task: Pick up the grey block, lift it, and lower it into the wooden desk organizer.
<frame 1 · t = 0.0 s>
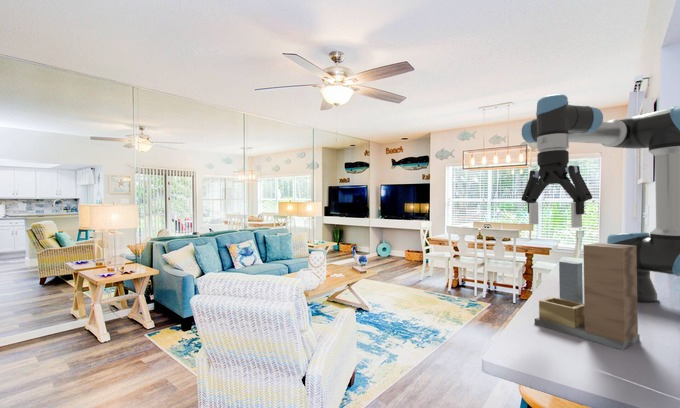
hand: (553, 225, 94), 28 cm above the counter, tool pointing down, fingers open, 13 cm apart
grey block: (571, 314, 101), on the counter
wooden desk organizer: (562, 325, 92), on the counter
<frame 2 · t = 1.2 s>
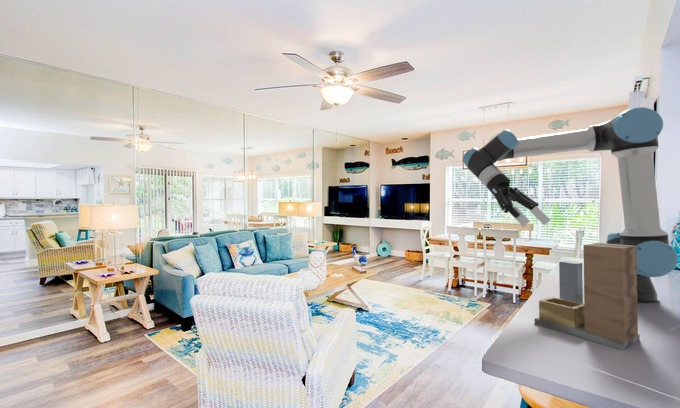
hand: (537, 223, 109), 28 cm above the counter, tool tilted 45°, fingers open, 13 cm apart
nothing on the counter moved.
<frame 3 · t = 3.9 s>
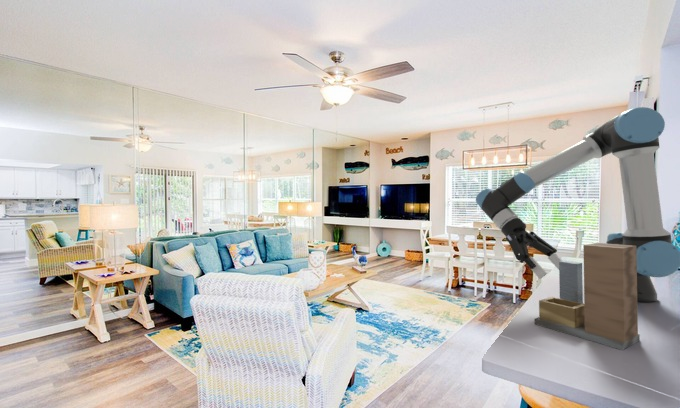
hand: (555, 273, 104), 12 cm above the counter, tool tilted 45°, fingers open, 13 cm apart
nothing on the counter moved.
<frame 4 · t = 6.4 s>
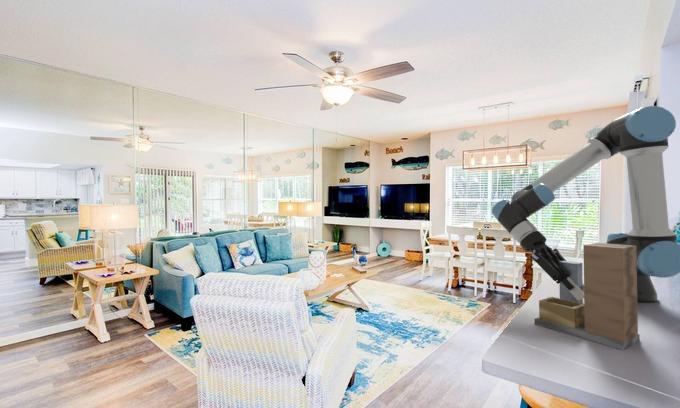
hand: (585, 297, 98), 6 cm above the counter, tool tilted 45°, fingers closed on grey block, 3 cm apart
grey block: (571, 314, 101), on the counter, touching gripper
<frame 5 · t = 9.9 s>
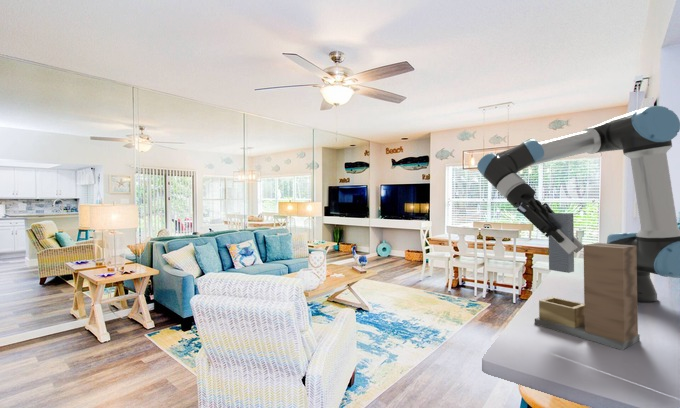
hand: (576, 250, 89), 22 cm above the counter, tool tilted 45°, fingers closed on grey block, 3 cm apart
grey block: (561, 270, 92), point 15 cm above the counter, touching gripper
when the fingers open (9 cm above the counter, at t = 13.5 s): grey block drops 1 cm, resting on wooden desk organizer.
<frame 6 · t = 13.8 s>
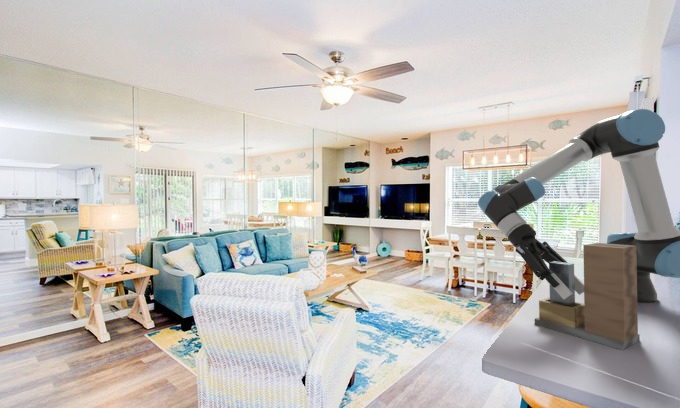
hand: (576, 294, 89), 10 cm above the counter, tool tilted 45°, fingers open, 8 cm apart
grey block: (562, 320, 92), point 2 cm above the counter, touching wooden desk organizer
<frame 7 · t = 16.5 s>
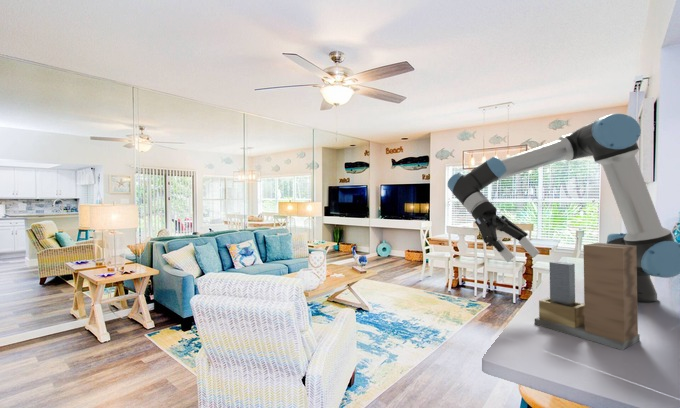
hand: (524, 257, 101), 18 cm above the counter, tool tilted 45°, fingers open, 13 cm apart
nothing on the counter moved.
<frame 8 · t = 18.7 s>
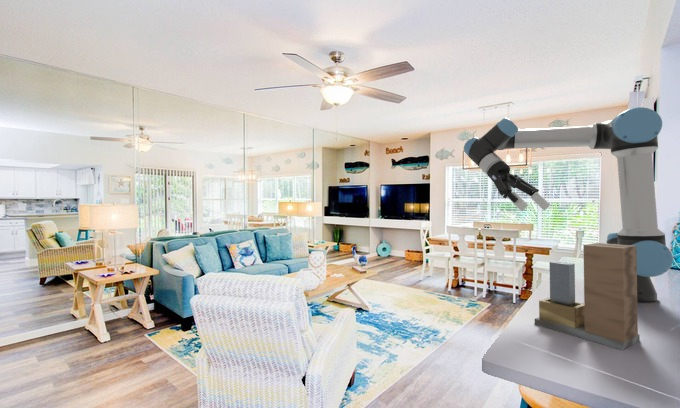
hand: (536, 207, 111), 33 cm above the counter, tool tilted 45°, fingers open, 13 cm apart
nothing on the counter moved.
at the end: grey block 0.1 cm off-centre on the wooden desk organizer, point 1.5 cm above the wooden desk organizer's base; grey block tilted 0°; the gripper is holding nothing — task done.
